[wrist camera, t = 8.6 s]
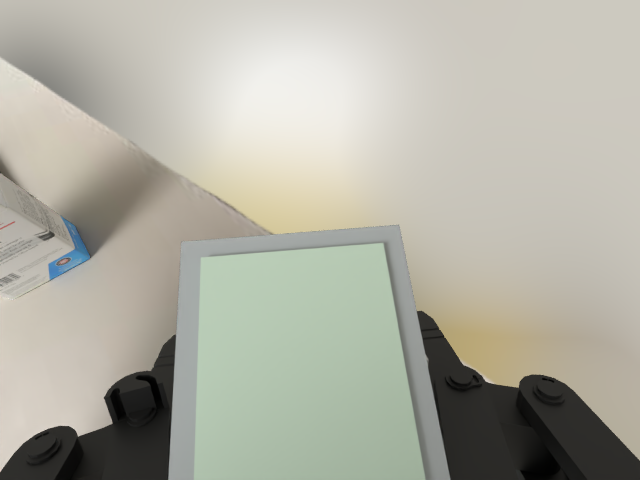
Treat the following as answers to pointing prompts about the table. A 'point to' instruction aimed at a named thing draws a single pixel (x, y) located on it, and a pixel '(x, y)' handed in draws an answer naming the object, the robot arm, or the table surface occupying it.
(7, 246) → the ink box
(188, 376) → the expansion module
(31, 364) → the table surface
